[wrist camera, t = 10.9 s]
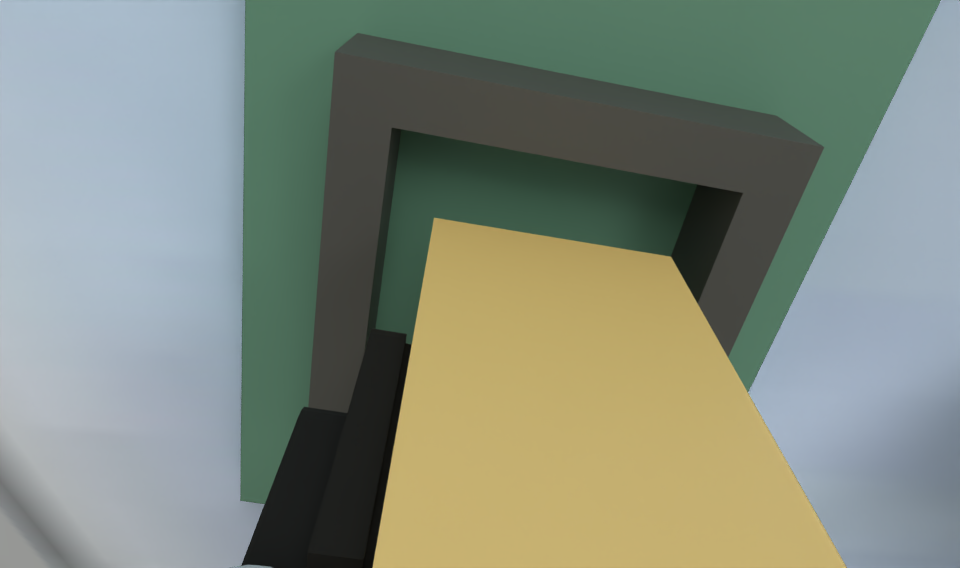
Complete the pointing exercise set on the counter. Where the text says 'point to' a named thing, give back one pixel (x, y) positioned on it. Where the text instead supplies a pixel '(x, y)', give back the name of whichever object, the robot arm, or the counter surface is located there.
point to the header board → (538, 160)
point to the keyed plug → (579, 421)
